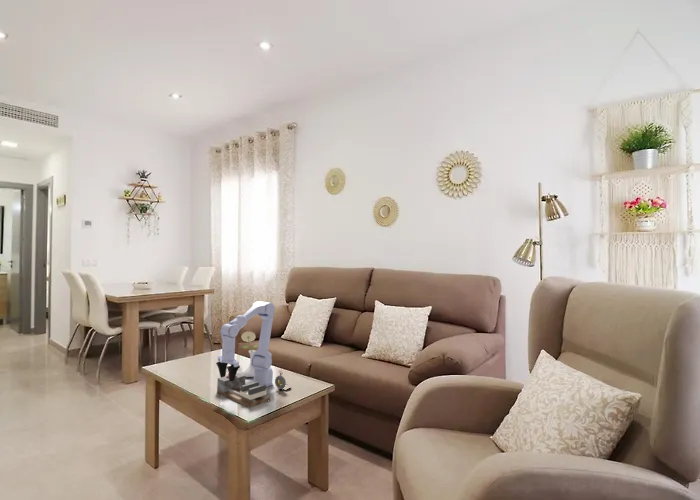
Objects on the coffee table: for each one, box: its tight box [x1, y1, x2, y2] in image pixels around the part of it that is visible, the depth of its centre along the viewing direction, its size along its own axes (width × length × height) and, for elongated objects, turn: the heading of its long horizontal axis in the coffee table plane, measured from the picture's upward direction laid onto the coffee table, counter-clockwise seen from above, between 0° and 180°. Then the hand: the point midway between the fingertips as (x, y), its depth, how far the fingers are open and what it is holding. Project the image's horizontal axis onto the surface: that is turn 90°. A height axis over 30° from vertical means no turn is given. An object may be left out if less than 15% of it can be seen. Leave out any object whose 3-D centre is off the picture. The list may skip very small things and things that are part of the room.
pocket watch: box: [274, 370, 290, 390], centre depth 194 cm, size 8×8×10 cm
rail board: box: [216, 372, 271, 408], centre depth 182 cm, size 12×26×7 cm, turn 51°
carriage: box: [240, 381, 267, 400], centre depth 177 cm, size 9×8×4 cm
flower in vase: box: [240, 330, 258, 378], centre depth 213 cm, size 13×11×25 cm
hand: (227, 378), depth 176 cm, fingers open, 7 cm apart
